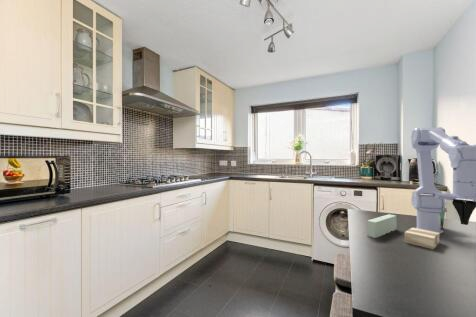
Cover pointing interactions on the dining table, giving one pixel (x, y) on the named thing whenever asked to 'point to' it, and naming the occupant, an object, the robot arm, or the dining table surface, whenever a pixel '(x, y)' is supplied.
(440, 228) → the food container
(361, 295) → the dining table surface
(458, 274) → the dining table surface
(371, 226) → the sage board
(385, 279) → the dining table surface
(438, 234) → the maple block
